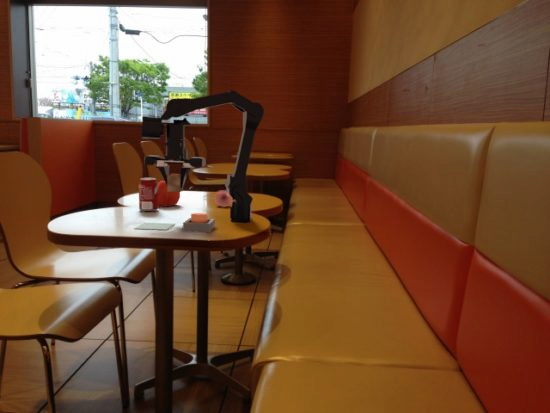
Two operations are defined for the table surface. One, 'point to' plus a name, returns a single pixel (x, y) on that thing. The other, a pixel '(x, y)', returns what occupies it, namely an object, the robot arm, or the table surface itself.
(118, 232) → the table surface
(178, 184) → the block
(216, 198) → the flower
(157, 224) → the board
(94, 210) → the table surface
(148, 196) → the soda can
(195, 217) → the button
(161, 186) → the apple
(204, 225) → the button box
